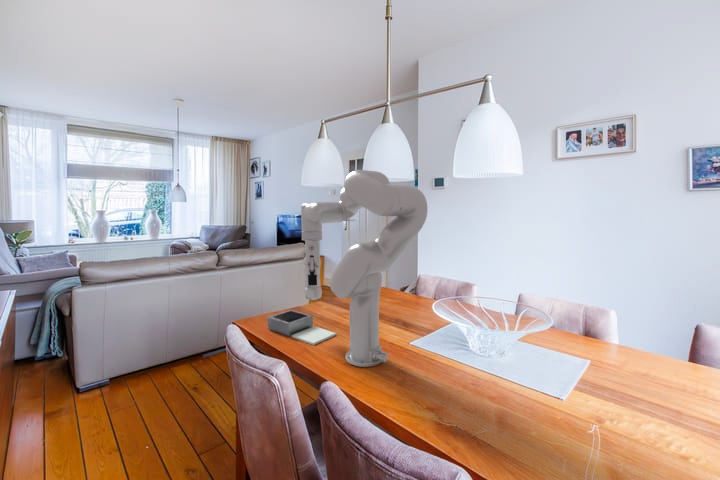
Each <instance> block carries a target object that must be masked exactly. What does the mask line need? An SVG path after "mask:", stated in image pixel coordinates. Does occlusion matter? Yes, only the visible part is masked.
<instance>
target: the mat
mask: <svg viewBox="0 0 720 480" xmlns="http://www.w3.org/2000/svg"><path fill="white" fill-rule="evenodd" d="M335 336H337V332H334V331H331V330H328V329H325V328H321V327H319V326H318V327H317V326H313V327H312V328H309V329H307V330H304V331H302V332H299V333H296V334H294V335H292V336H291V339H292V338H293V339H296V340H299V341H301V342H304V343H307V344H309V345H312V346H315V345H317V344H319V343H322V342H324V341H326V340H328V339H331V338H332V337H335Z"/></svg>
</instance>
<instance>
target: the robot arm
mask: <svg viewBox="0 0 720 480" xmlns="http://www.w3.org/2000/svg"><path fill="white" fill-rule="evenodd" d="M339 200H340V201H336V202H335V201H323V202H322V201H316V202H305V203H302V204H301V206H300V214H301V215H300V218H301V219H300V221H301V241H304V243H305V244H304V246H305V247H304V249H305V257H306V264H307V267H308V266H309V267H308V268H309V275H308V285H309V286H311V285H317V274H316V266H318V267H319V266H320V260H321V250H320V248H321V246H320V241H322V240H323V233H322V232H323V231H322V230H323V227H322V226H323V224H333V223H337V224H338V223H342V222H345V221H346V220H349V219H351V218H353V217H355V215H356V214H357V213H358V211H359V210H360V209H362V208H364V209H366V210H368V211H369V212H371V213H373V214H374V215H377V216H380V217H395V218H393V219H392V220H391V221H390V222H389V223H388V224H386V225H385V226H384V227H383V229H382V230H381V232H380V234H378V236H377V237H376V238H375V239H372V240H370V241H364V242H358V243H355V244H354V245H352V246H350V247H349V248H348V249H347V251H345V253H344V255H343V257H342V258H341V259H340V261H339V262H338V264H337V266H336V267H335V268H334V270H333V271H332V274H331V277H330V280H329V281H330V282H329V283H330V284H329V285H330V289H331V291H332V293H333V295H334V296H335V297H337V298H339V299H349V298H350V303H349V350H348V351H347V352H346V353H345V360H346V362H347V363H348V364H350V365H352V366H354V367H355V366H356V367H359V368H362V367H363V368H366V367H368V368H370V367H374V366H377V365H379V364H381V363H382V362H384V363H386V362H387V361H388V357H389V353H388V352H385V351H383V350H382V345H380V327H379V325H380V318H379V317H380V295H381V289H382V285H383V284H382V283H383V276H382V272H386V271H388V270H389V269H390V268H391V267H392V266H393V265H394V263H395V262H396V261H397V260H398V259H399V257H400V256H401V255H402V254H403V252H404V251H405V250H406V248H408V245H409V244H410V243H411V242H412V241H413V240H414V239H415V237H416V236H417V235H418V234H419V233H420V232H421V230H422V228H423V227H424V225H425V223H426V220H427V217H428V201H427V198H426V196H425V195H424V193H423V191H422V190H420V189H418V188H417V187H414V186H410V185H403V184H402V185H400V184H391V183H390V180H389V178H388V177H387V175H385V174H384V173H382V172H380V171H377V170H376V171H375V170H367V169H356V170H353V171H351V172H350V173H348V174H347V175H346V177H345V179H344V183H343V187H342V189H341V190H340V192H339ZM311 247H312V248H311ZM309 262H310V264H309ZM308 264H309V265H308ZM314 265H315V266H314ZM320 267H321V266H320ZM314 268H315V269H314Z"/></svg>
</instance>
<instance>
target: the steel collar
mask: <svg viewBox="0 0 720 480" xmlns="http://www.w3.org/2000/svg"><path fill="white" fill-rule="evenodd" d="M313 317H314V316H313V315H311V314H308V313H304V312H300V311H296V310H294V309H290V310H286V311H283V312H282V311H281V312H279V313H277V314H273V315H270V316H267V330H270V331H273V332H276V333H278V334H281V335H284V336H286V337H289V338H290V337H292V335H294V334H296V333H299V332H302V331H304V330H307V329H309V328H312V327H314V326H313V325H314V323H313V322H314V319H313Z"/></svg>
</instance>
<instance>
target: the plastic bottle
mask: <svg viewBox="0 0 720 480" xmlns="http://www.w3.org/2000/svg"><path fill="white" fill-rule="evenodd" d="M311 248H312V247H311ZM321 263H322V260H321V259H320V266H319V267H318V266H316V274H317V285H311V286H309V285H308V275H309V268H308V267H309V266H308V267H307V264H306V256H304V258H303V268H304V276H305V281H304V282H305V283H304V292H303V294H304V298H305V299H306V300H311V301H314V300H315V301H316V300H319V299H321V297H322V295H323V290H322V287H321V286H322V285H321V276H320V275H321V265H322V264H321ZM309 264H310V262H309ZM309 264H308V265H309ZM314 266H315V265H314ZM314 269H315V268H314Z"/></svg>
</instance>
